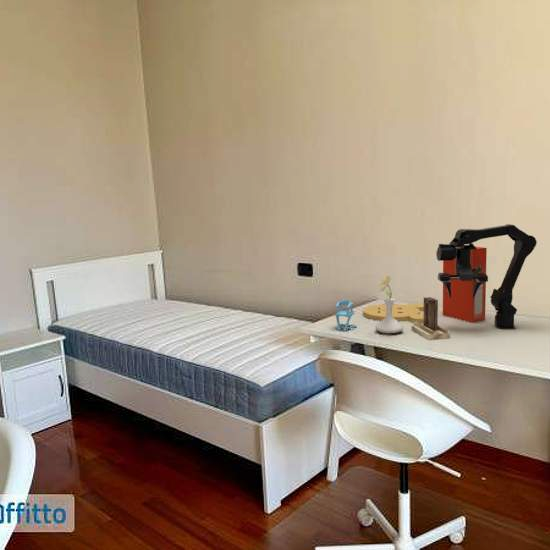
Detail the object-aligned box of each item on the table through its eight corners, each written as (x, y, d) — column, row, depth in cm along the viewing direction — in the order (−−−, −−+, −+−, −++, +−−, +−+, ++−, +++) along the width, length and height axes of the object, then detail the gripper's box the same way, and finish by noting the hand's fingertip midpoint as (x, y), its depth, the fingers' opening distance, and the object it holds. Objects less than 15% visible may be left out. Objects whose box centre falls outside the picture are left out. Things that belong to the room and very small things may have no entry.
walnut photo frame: (430, 327, 216) (430, 297, 213) (437, 330, 210) (437, 300, 208) (423, 327, 215) (423, 297, 213) (430, 331, 209) (430, 300, 207)
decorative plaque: (361, 323, 234) (431, 324, 228) (361, 318, 233) (431, 319, 227) (364, 307, 264) (426, 308, 258) (364, 302, 263) (426, 303, 257)
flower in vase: (376, 327, 225) (376, 269, 221) (403, 328, 222) (404, 270, 218) (373, 336, 213) (373, 275, 209) (402, 337, 210) (402, 275, 206)
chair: (332, 330, 224) (332, 303, 221) (339, 325, 231) (339, 298, 229) (350, 332, 220) (349, 304, 218) (356, 327, 227) (356, 300, 225)
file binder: (471, 323, 227) (473, 249, 221) (442, 315, 242) (443, 245, 237) (485, 320, 230) (487, 247, 225) (455, 312, 245) (456, 244, 240)
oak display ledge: (431, 328, 221) (431, 320, 220) (450, 337, 206) (450, 329, 206) (411, 330, 219) (411, 322, 219) (428, 340, 205) (428, 331, 204)
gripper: (443, 263, 207) (442, 301, 210) (492, 263, 205) (490, 302, 208) (438, 259, 218) (436, 296, 221) (485, 259, 216) (483, 296, 219)
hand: (461, 297), depth 217 cm, fingers open, 9 cm apart
